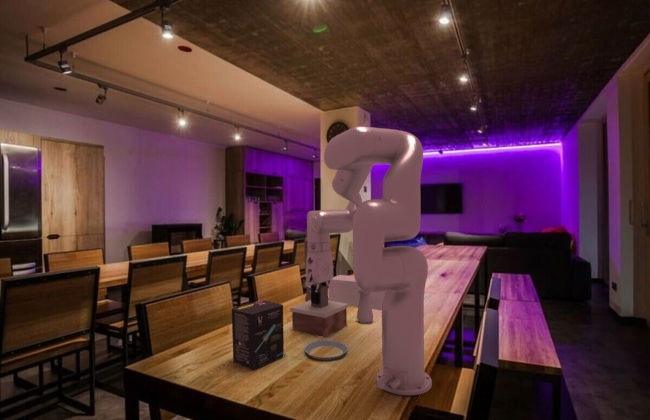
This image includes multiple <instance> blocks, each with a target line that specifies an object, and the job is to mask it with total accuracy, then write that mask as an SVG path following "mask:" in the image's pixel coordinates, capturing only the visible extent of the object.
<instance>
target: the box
mask: <svg viewBox="0 0 650 420" xmlns="http://www.w3.org/2000/svg"><path fill="white" fill-rule="evenodd" d="M291 312H292V311H291ZM347 316H348V315H347V308H346V309H344V310H342V311H339V312H337V313H335V314H333V315H331V316H328V317H326V318H322V317H317V316H312V315H307V314H302V313H297V312H292V315H291V317H292V319H291V320H292V324H291V325H292V331H295V332H300V333H305V334H308V335H312V336H316V337H322V338H327V337H329V336H330V335H332V334H334V333H336V332H338V331H340V330H341V329H344V328H345V327H347V326H348V324H347V323H348V322H347V321H348V320H347Z"/></svg>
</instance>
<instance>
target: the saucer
mask: <svg viewBox="0 0 650 420" xmlns="http://www.w3.org/2000/svg"><path fill="white" fill-rule="evenodd" d="M321 347H331V348H336V349H339V350H340V351H341V352H342V354H340V355H336V356H330V357H328V356H327V357H323V356H321V357H320V356H316V355H311V354H310V352H311V351H312V350H314V349H317V348H321ZM347 351H348V347H347V345H346V344H343V343H341V342H339V341H334V340H316V341H312V342H310V343H309V344H308V343H307V344H306V346H305V347H304V352H305V353H306V354H307V355H308V356H309V357H311V358H312V359H316V360H318V361H321V360H322V361H330V360H332V361H333V360H336V359H339V358H341V357H342V356H344V355H345V354H346V353H347Z"/></svg>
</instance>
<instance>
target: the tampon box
mask: <svg viewBox="0 0 650 420" xmlns="http://www.w3.org/2000/svg"><path fill="white" fill-rule="evenodd" d="M231 329H232V335H231V336H232V361H233V362H234V363H237V364H239V365H241V366H244V367H246V368H248V369H250V370H253V371H256V370H258V369H260V368H263V367H265V366H267V365H269V364H271V363H273V362H275V361H277V360H280V359H282V358H284V357H285V355H284V353H285V351H284V350H285V349H284V346H285V345H284V305H283V304H282V303H276V302H273V301H268V300H265V299H261V300H257V301H254V302H253V301H252V302H250V303H247V304H242V305H238V306H235V307H232V308H231Z"/></svg>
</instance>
